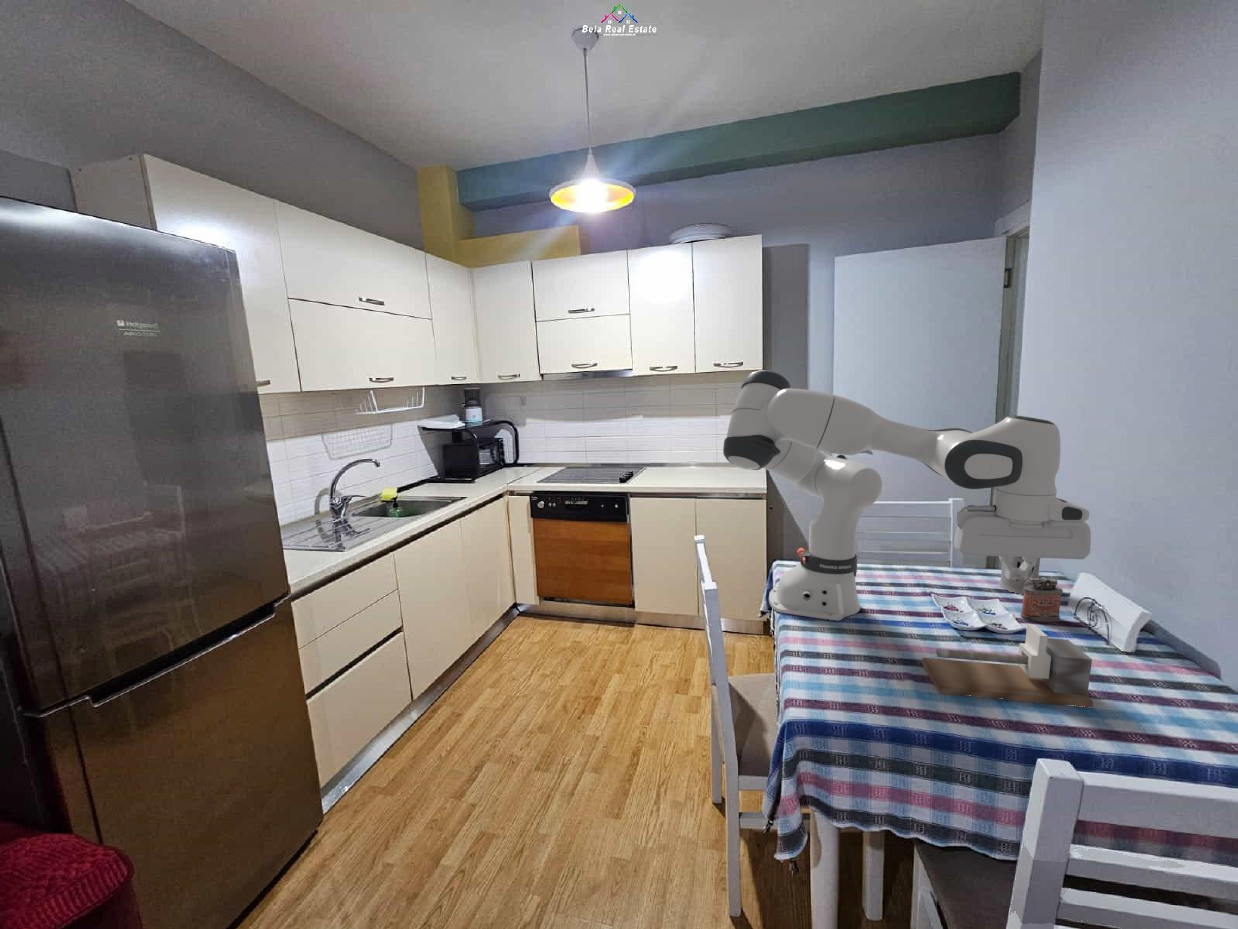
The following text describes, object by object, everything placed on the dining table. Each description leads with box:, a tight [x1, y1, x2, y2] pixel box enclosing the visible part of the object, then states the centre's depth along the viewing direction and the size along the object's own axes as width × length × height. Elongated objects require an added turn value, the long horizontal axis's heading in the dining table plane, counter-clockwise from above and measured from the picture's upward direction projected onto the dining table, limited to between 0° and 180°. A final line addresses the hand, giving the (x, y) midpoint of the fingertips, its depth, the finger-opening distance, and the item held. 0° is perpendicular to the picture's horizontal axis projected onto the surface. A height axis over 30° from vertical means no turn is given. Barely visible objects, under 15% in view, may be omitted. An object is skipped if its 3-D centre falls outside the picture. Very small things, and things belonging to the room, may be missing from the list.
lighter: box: [1020, 576, 1063, 622], centre depth 122 cm, size 8×3×10 cm, turn 84°
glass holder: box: [998, 557, 1041, 594], centre depth 135 cm, size 9×14×15 cm, turn 160°
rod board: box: [921, 637, 1094, 708], centre depth 97 cm, size 24×10×8 cm, turn 76°
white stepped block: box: [1017, 623, 1051, 679], centre depth 95 cm, size 3×4×8 cm
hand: (1015, 578), depth 94 cm, fingers closed
